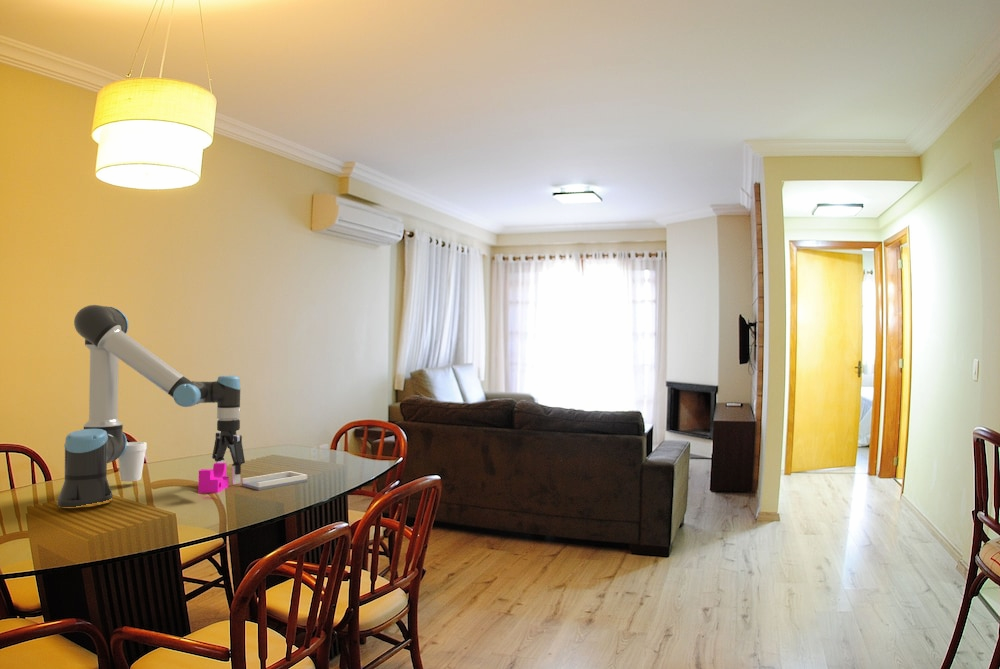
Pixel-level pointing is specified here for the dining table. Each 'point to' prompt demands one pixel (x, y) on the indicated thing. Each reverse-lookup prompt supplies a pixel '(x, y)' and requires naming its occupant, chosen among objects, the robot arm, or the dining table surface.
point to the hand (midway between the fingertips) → (227, 481)
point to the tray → (274, 480)
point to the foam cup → (132, 461)
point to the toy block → (213, 479)
